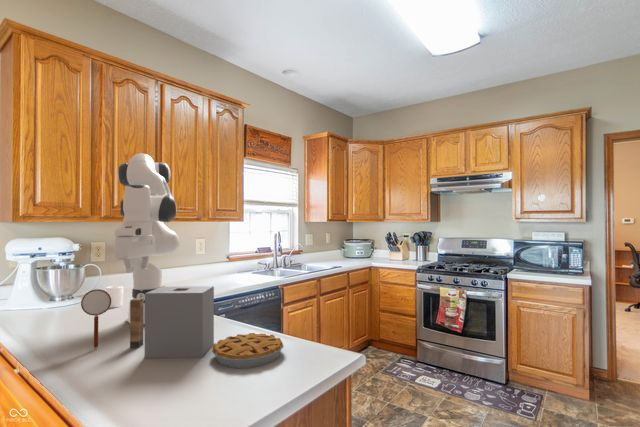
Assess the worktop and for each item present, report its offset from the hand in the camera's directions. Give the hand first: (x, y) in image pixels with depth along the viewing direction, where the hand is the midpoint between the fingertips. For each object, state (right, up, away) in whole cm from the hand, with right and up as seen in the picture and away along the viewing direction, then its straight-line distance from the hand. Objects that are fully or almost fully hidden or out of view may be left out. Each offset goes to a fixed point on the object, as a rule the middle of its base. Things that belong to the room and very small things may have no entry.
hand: (137, 270), depth 123 cm
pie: (+40, -26, -10) cm, 49 cm away
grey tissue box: (+17, -25, -6) cm, 31 cm away
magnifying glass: (-12, -26, -4) cm, 29 cm away
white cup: (-42, -28, +60) cm, 79 cm away
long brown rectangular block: (0, -26, -1) cm, 26 cm away
